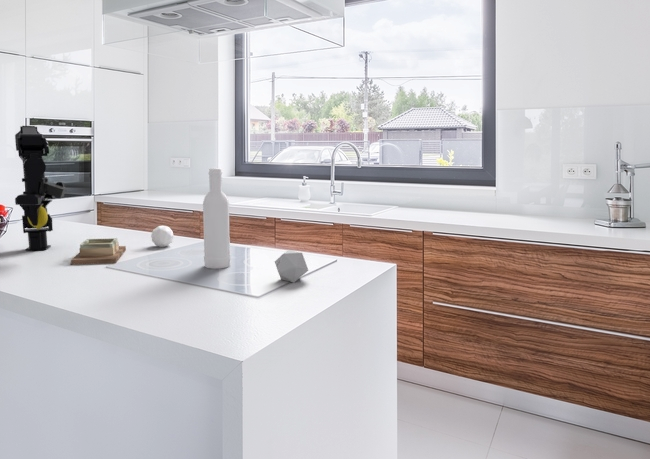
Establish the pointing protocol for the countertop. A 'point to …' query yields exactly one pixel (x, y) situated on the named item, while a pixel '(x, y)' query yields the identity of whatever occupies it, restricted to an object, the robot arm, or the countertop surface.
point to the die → (291, 266)
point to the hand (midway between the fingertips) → (38, 224)
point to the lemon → (41, 218)
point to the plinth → (98, 258)
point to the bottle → (216, 224)
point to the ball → (162, 236)
